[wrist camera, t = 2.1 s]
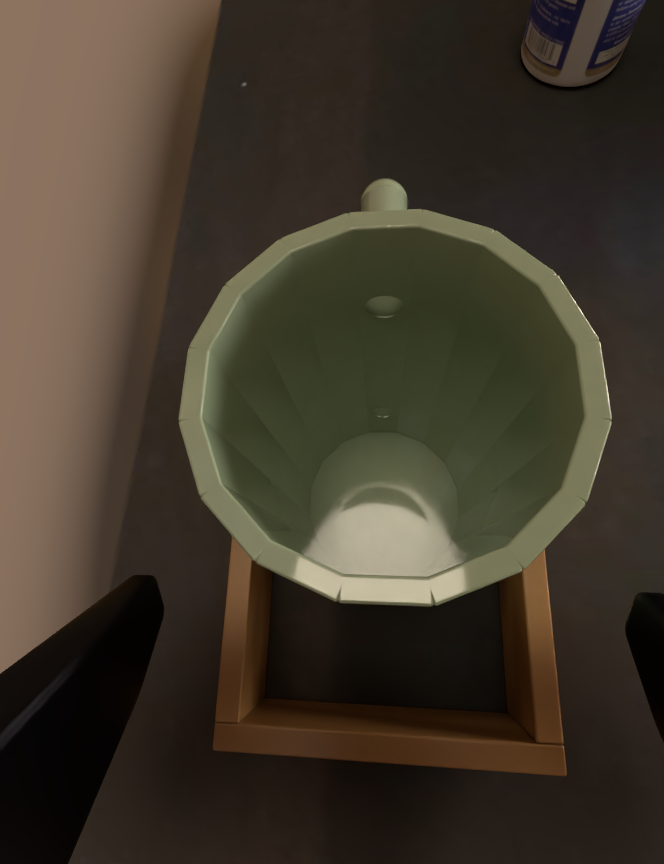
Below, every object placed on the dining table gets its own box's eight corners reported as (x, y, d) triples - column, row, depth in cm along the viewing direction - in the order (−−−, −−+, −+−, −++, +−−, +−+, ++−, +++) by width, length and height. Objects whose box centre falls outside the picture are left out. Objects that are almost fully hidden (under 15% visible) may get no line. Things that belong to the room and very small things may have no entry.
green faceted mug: (469, 592, 19) (644, 615, 6) (298, 586, 19) (152, 596, 7) (457, 363, 22) (560, 71, 9) (309, 365, 22) (221, 97, 10)
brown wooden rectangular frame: (531, 739, 17) (567, 777, 14) (242, 720, 18) (211, 751, 15) (497, 327, 22) (519, 281, 19) (272, 331, 23) (254, 289, 20)
